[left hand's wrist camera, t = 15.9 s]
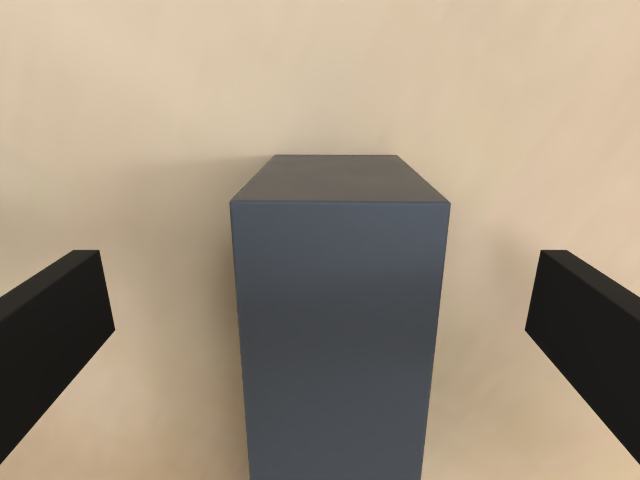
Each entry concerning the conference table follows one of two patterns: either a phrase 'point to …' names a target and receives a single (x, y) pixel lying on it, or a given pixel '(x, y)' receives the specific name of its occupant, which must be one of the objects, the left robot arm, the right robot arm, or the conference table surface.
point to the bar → (337, 315)
